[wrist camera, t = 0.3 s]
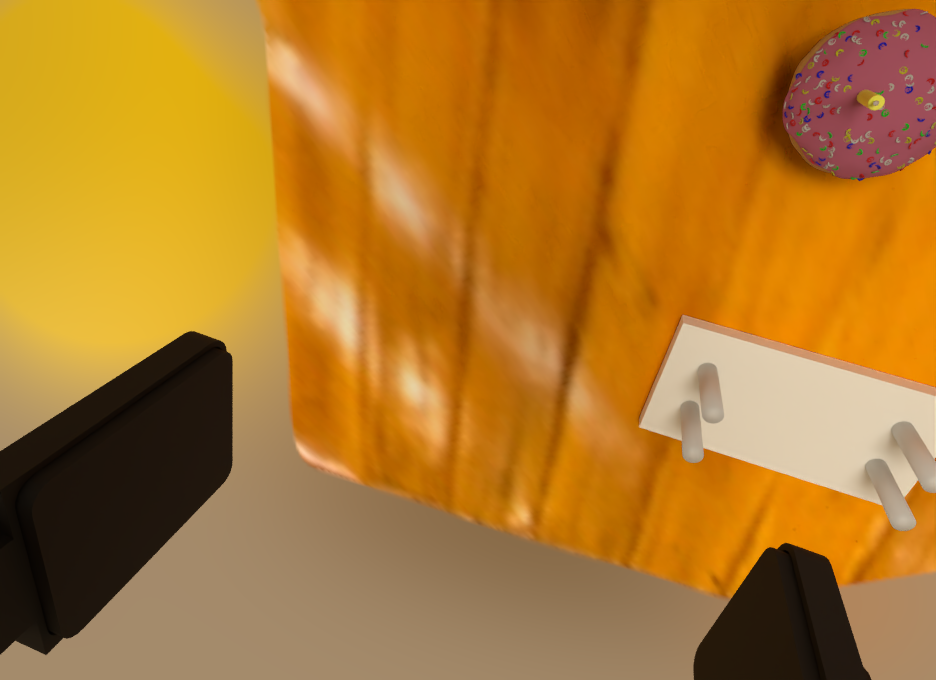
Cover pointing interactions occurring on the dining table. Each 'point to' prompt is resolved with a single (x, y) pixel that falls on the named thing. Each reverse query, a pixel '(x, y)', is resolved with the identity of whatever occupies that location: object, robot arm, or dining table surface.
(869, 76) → the cupcake
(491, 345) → the dining table surface
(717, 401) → the peg stand
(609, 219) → the dining table surface
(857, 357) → the dining table surface
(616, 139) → the dining table surface
